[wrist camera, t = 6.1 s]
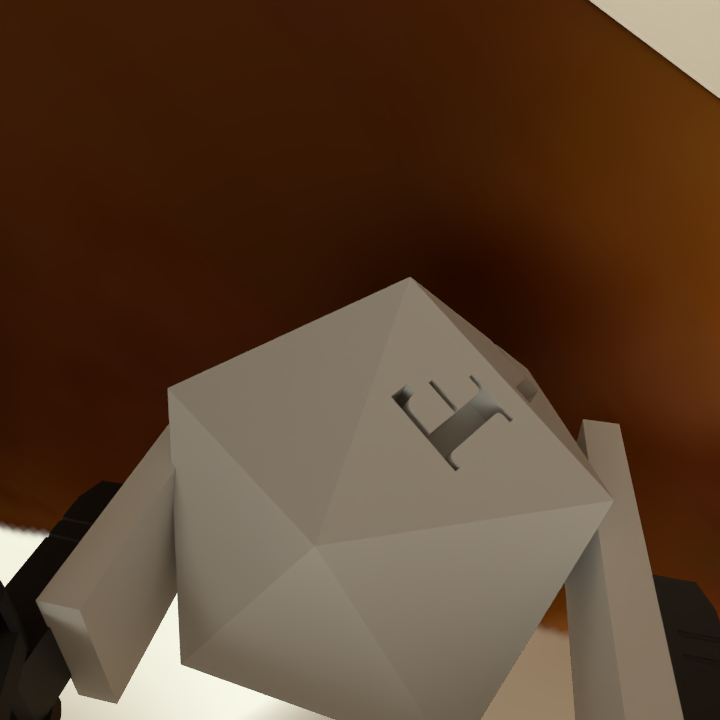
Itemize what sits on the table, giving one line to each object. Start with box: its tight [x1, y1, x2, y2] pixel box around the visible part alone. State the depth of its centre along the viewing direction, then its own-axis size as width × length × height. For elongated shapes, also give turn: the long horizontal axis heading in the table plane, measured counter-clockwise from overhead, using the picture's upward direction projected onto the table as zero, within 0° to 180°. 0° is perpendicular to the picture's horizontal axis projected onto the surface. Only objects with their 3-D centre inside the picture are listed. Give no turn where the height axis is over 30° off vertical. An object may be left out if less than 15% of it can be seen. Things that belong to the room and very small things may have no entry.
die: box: [168, 277, 614, 720], centre depth 13 cm, size 8×9×10 cm
